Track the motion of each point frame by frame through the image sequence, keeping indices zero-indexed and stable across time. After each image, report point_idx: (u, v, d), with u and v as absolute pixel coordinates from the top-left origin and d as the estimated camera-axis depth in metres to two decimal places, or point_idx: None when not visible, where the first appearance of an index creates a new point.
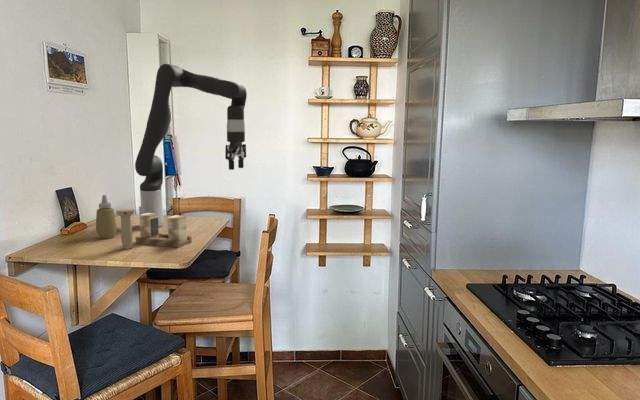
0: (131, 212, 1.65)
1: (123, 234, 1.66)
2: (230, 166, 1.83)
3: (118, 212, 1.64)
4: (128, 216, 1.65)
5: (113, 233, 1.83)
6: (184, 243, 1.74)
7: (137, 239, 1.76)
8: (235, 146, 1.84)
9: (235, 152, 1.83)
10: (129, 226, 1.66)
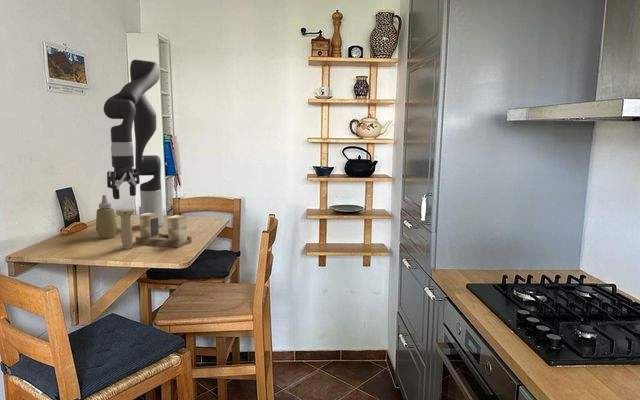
0: (131, 212, 1.65)
1: (123, 234, 1.66)
2: None
3: (118, 212, 1.64)
4: (128, 216, 1.65)
5: (113, 233, 1.83)
6: (184, 243, 1.74)
7: (137, 239, 1.76)
8: (120, 172, 1.61)
9: (120, 179, 1.60)
10: (129, 226, 1.66)
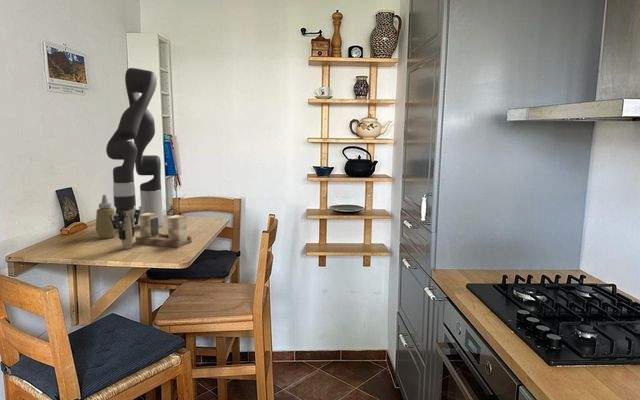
0: (131, 212, 1.65)
1: None
2: None
3: None
4: (128, 216, 1.65)
5: (113, 233, 1.83)
6: (184, 243, 1.74)
7: (137, 239, 1.76)
8: (122, 212, 1.63)
9: (124, 220, 1.64)
10: (129, 226, 1.66)
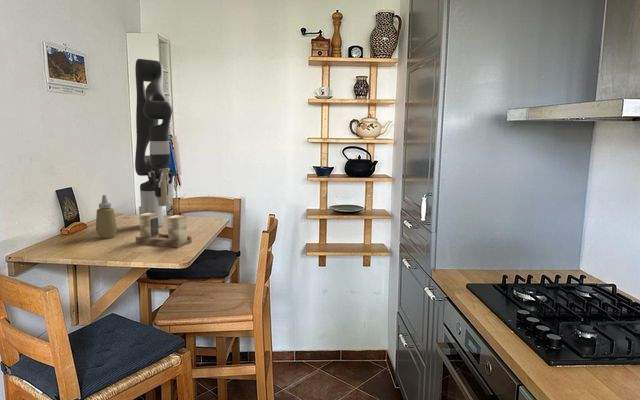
0: (166, 170, 1.72)
1: None
2: (156, 193, 1.72)
3: None
4: (164, 174, 1.72)
5: (113, 233, 1.83)
6: (184, 243, 1.74)
7: (137, 239, 1.76)
8: (158, 169, 1.70)
9: (160, 178, 1.70)
10: (164, 184, 1.73)
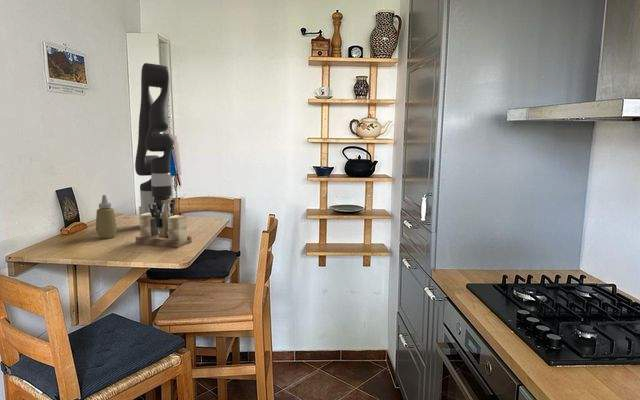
0: (168, 201, 1.74)
1: None
2: (158, 224, 1.74)
3: None
4: (165, 205, 1.74)
5: (113, 233, 1.83)
6: (184, 243, 1.74)
7: (137, 239, 1.76)
8: (160, 201, 1.72)
9: (161, 209, 1.72)
10: (166, 215, 1.75)
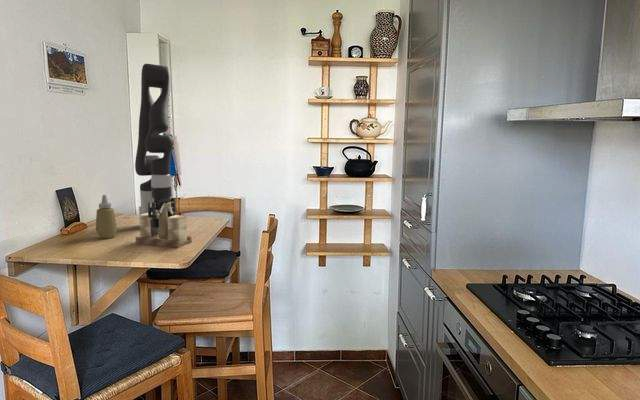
0: (168, 205, 1.74)
1: (160, 226, 1.75)
2: None
3: None
4: (165, 209, 1.75)
5: (113, 233, 1.83)
6: (184, 243, 1.74)
7: (137, 239, 1.76)
8: (160, 203, 1.72)
9: (160, 209, 1.72)
10: (166, 218, 1.75)
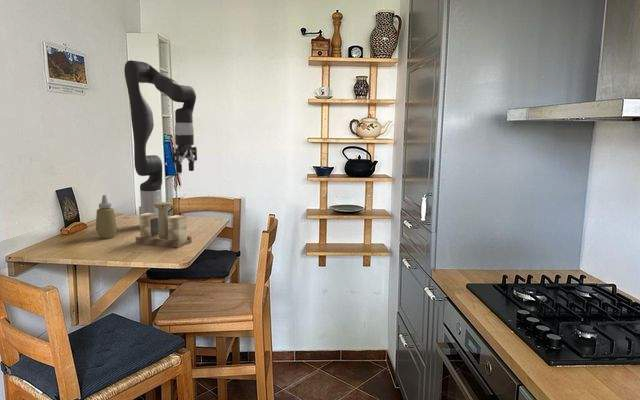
0: (168, 205, 1.74)
1: (160, 226, 1.75)
2: None
3: (156, 205, 1.73)
4: (165, 209, 1.74)
5: (113, 233, 1.83)
6: (184, 243, 1.74)
7: (137, 239, 1.76)
8: (183, 149, 1.84)
9: (183, 155, 1.83)
10: (166, 218, 1.75)
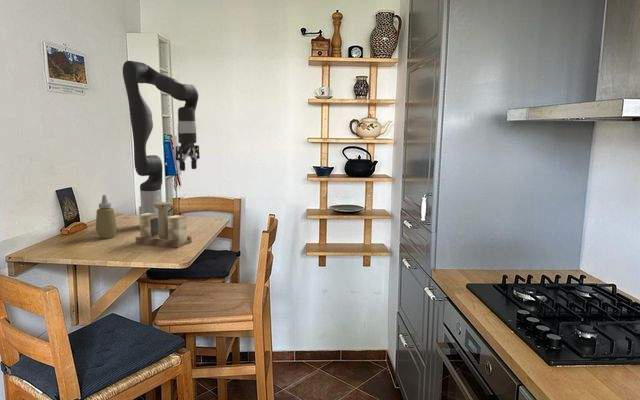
0: (168, 205, 1.74)
1: (160, 226, 1.75)
2: (181, 167, 1.85)
3: (156, 205, 1.73)
4: (165, 209, 1.74)
5: (113, 233, 1.83)
6: (184, 243, 1.74)
7: (137, 239, 1.76)
8: (186, 147, 1.85)
9: (186, 153, 1.85)
10: (166, 218, 1.75)
